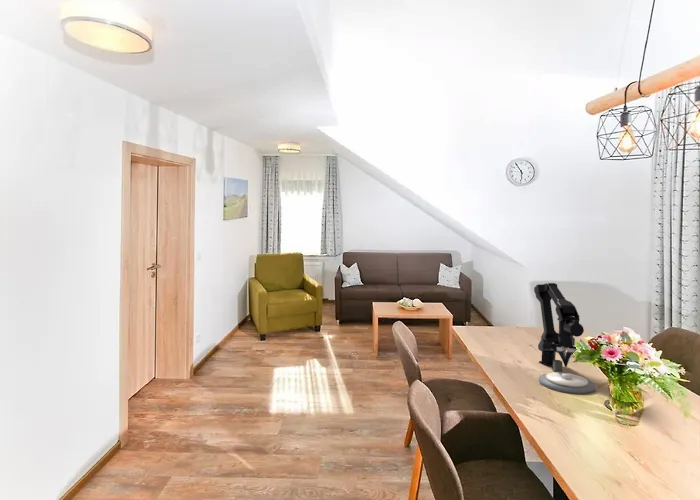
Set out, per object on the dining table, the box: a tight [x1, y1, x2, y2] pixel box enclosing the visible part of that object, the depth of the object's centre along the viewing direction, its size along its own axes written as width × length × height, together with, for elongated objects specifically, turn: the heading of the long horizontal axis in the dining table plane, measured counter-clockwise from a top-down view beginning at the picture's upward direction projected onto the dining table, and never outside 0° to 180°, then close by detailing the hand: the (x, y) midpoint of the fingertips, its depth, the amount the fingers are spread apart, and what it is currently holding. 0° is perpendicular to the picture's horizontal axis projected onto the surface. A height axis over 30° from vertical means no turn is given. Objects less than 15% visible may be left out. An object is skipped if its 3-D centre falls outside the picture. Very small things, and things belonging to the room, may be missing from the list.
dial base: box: [538, 372, 597, 395], centre depth 187 cm, size 22×22×2 cm
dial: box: [546, 359, 589, 387], centre depth 188 cm, size 20×16×6 cm
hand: (565, 366), depth 195 cm, fingers closed
